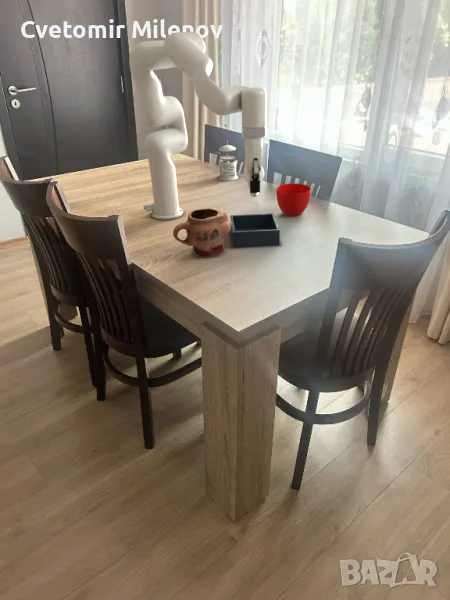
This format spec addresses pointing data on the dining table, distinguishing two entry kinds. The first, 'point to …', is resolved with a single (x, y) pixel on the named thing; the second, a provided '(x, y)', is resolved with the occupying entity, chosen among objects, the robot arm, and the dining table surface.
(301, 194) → the ceramic cup
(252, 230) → the tote
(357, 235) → the dining table surface
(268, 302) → the dining table surface
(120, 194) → the dining table surface
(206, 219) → the brown clay mug
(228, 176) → the french press
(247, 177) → the light bulb
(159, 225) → the dining table surface
